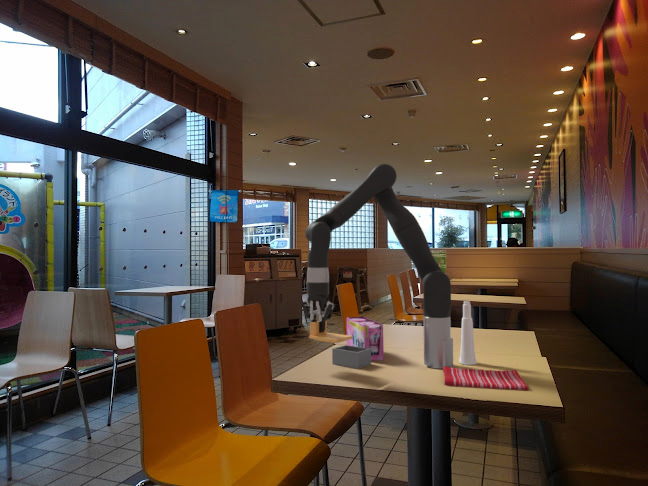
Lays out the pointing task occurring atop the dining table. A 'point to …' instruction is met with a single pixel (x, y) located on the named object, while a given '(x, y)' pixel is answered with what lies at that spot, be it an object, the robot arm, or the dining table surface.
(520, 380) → the dish towel
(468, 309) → the cosmetic bottle
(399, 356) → the dining table surface
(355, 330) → the gum box
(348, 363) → the tub
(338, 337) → the lid
